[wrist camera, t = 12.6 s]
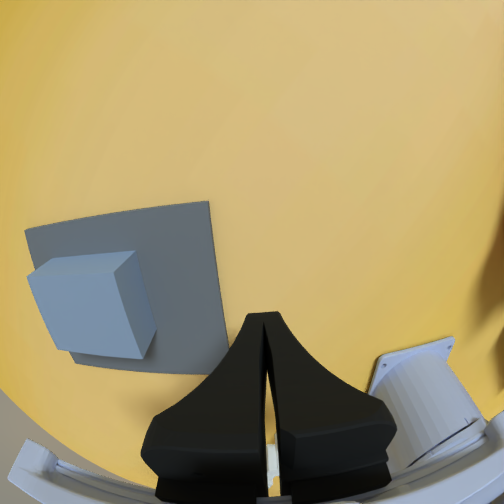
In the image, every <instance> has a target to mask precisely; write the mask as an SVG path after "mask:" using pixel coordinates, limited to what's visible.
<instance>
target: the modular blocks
mask: <svg viewBox="0 0 504 504" xmlns="http://www.w3.org/2000/svg"><path fill="white" fill-rule="evenodd" d="M274 436H275V444H267V445H266V457H267V477H268V488H270V487H271V486H272V485H273V478H274V477H275V476H279V462H278V446H277V432H276V433H275V435H274Z"/></svg>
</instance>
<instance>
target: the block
mask: <svg viewBox="0 0 504 504" xmlns="http://www.w3.org/2000/svg"><path fill="white" fill-rule="evenodd" d="M27 279H28V282H29V285H30V288H31V290H32V293H33V296H34V298H35V301H36V303H37V306H38V308H39V311H40V313H41V315H42V318H43V320H44V322H45V324H46V327H47V329H48V331H49V333H50V335H51V337H52V339H53V341H54V343H55V345H56V347H57V349H58V350H64V351H71V352H77V353H84V354H92V355H100V356H110V357H120V358H132V359H143V358H144V356H145V354H146V351H147V349H148V347H149V345H150V343H151V341H152V338H153V336H154V334H155V332H156V330H157V328H156V325H155V322H154V319H153V315H152V312H151V308H150V305H149V301H148V298H147V294H146V290H145V287H144V283H143V279H142V275H141V271H140V267H139V262H138V258H137V253H136V251H124V252H113V253H102V254H91V255H80V256H70V257H59V258H52V259H50V260H49V261H48V262H46V263H45V264H43V265H42V266H40V267H39V268H38V269H36V270H35V271H33V272H32V273H31V274H29V275H28V276H27Z"/></svg>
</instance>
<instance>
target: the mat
mask: <svg viewBox="0 0 504 504" xmlns="http://www.w3.org/2000/svg"><path fill="white" fill-rule="evenodd" d="M24 231H25V235H26V239H27V243H28V247H29V251H30V254H31V258H32V261H33V264H34V268H35V270H36V269H38V268H39V267H40V266H42V265H43V264H45V263H46V262H48V261H49V260H50V259H52V258H59V257H70V256H80V255H91V254H102V253H113V252H124V251H136V253H137V258H138V262H139V267H140V271H141V275H142V279H143V283H144V287H145V290H146V294H147V298H148V301H149V305H150V308H151V312H152V315H153V319H154V322H155V325H156V328H157V330H156V332H155V334H154V336H153V338H152V341H151V343H150V345H149V347H148V349H147V351H146V354H145V356H144V358H143V359H132V358H120V357H110V356H100V355H92V354H84V353H77V352H71V351H69V352H70V354H71V356H72V358H73V360H74V362H75V363H76V364H82V365H88V366H95V367H102V368H110V369H118V370H128V371H139V372H152V373H169V374H211V373H212V371H213V370H214V369H215V368H216V367H217V366H218V364H219V363H220V362H221V360H222V359H223V358H224V356H225V355H226V353H227V352H228V350H229V343H228V337H227V331H226V325H225V318H224V312H223V305H222V299H221V292H220V285H219V278H218V271H217V264H216V256H215V249H214V241H213V233H212V225H211V216H210V208H209V201H201V202H192V203H183V204H174V205H166V206H158V207H150V208H143V209H136V210H129V211H122V212H116V213H109V214H103V215H97V216H91V217H85V218H80V219H74V220H69V221H64V222H58V223H53V224H48V225H43V226H39V227H34V228H29V229H26V230H24Z"/></svg>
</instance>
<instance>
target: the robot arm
mask: <svg viewBox="0 0 504 504" xmlns="http://www.w3.org/2000/svg"><path fill="white" fill-rule="evenodd" d="M454 342H455V338H454V337H453V336H451V337H447V338H444V339H441V340H438V341H434V342H431V343H427V344H424V345H420V346H416V347H412V348H408V349H404V350H400V351H396V352H392V353H387V354H383V355H382V356H380V357H379V359H378V362H377V365H376V369H375V372H374V375H373V378H372V382H371V385H370V388H369V391H368V394H366V393H364V392H362V391H360V390H358V389H356V388H354V387H352V386H351V385H349V384H347V383H345V382H344V381H342V380H341V379H339V378H338V377H337V376H335V375H334V374H332V373H331V372H329V371H328V370H327V369H326V368H325V367H323V366H322V365H321V364H320V363H319V362H318V361H316V360H315V359H314V358H313V357H312V356H311V355H310V354H309V353H308V352H307V351H306V349H305V348H304V347H303V346H302V345H301V344H300V343H299V341H298V340H297V339H296V338H295V336H294V335H293V334H292V332H291V331H290V329H289V328H288V326H287V325H286V323H285V322H284V320H283V318H282V316H281V314H280V313H279V312H278V311H275V312H262V313H248V314H247V315H246V318H245V321H244V323H243V325H242V328H241V330H240V332H239V334H238V335H237V337H236V339H235V341H234V343H233V344H232V346H231V347H230V349H229V350H228V352H227V353H226V355H225V356H224V358H223V359H222V360H221V362H220V363H219V364H218V366H217V367H216V368H215V369H214V370H213V371H212V373H211V374H210V375H209V376H208V377H207V378H206V379H205V380H204V381H203V382H202V383H201V384H200V385H199V386H198V387H196V388H195V389H194V390H193V391H192V392H190V393H189V394H188V395H187V396H185V397H184V398H183V399H182V400H180V401H179V402H178V403H176V404H175V405H173V406H171V407H170V408H168V409H166V410H165V411H163V412H161V413H160V414H158V415H156V416H154V418H153V420H152V422H151V424H150V426H149V428H148V430H147V432H146V436H145V439H144V442H143V446H142V449H141V457H142V459H143V460H144V462H145V463H146V464H147V465H148V466H149V467H150V468H151V469H152V470H153V471H154V473H155V474H156V475H157V476H158V477H159V478H158V482H157V487H156V489H151V488H146V487H142V486H138V485H133V484H129V483H126V482H122V481H118V480H115V479H111V478H108V477H105V476H102V475H99V474H96V473H93V472H90V471H87V470H85V469H82V468H79V467H77V466H74V465H72V464H69V463H67V462H65V461H62V460H60V459H58V457H57V456H56V455H55V454H53V453H52V452H51V451H50V450H49V449H47V448H46V447H44V446H43V445H40V444H38V443H36V442H34V441H33V440H31V439H29V438H27V439H26V441H25V443H24V445H23V447H22V449H21V450H20V452H19V454H18V456H17V458H16V460H15V462H14V464H13V467H12V469H11V471H10V473H9V475H8V480H9V481H10V482H12V483H13V484H15V485H16V486H17V487H19V488H20V489H21V490H23V491H24V492H26V493H27V494H29V495H30V496H32V497H33V498H35V499H36V500H38V501H39V502H41V503H42V504H360V503H362V504H504V410H503V411H502V412H500V413H499V414H497V415H496V416H494V417H493V418H492V419H491V420H490V421H487V420H486V419H484V417H483V416H482V414H481V412H480V411H479V409H478V408H477V406H476V405H475V403H474V401H473V400H472V398H471V397H470V395H469V394H468V392H467V391H466V389H465V388H464V386H463V385H462V384H461V382H460V381H459V379H458V378H457V376H456V375H455V374H454V372H453V371H452V369H451V368H450V367H449V365H448V364H447V362H446V361H447V359H448V357H449V354H450V352H451V349H452V347H453V345H454ZM267 372H268V377H269V383H270V388H271V394H272V399H273V405H274V411H275V418H276V432H277V446H278V462H279V478H280V495H281V496H276V497H269V496H268V477H267V457H266V437H265V398H266V380H267Z"/></svg>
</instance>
